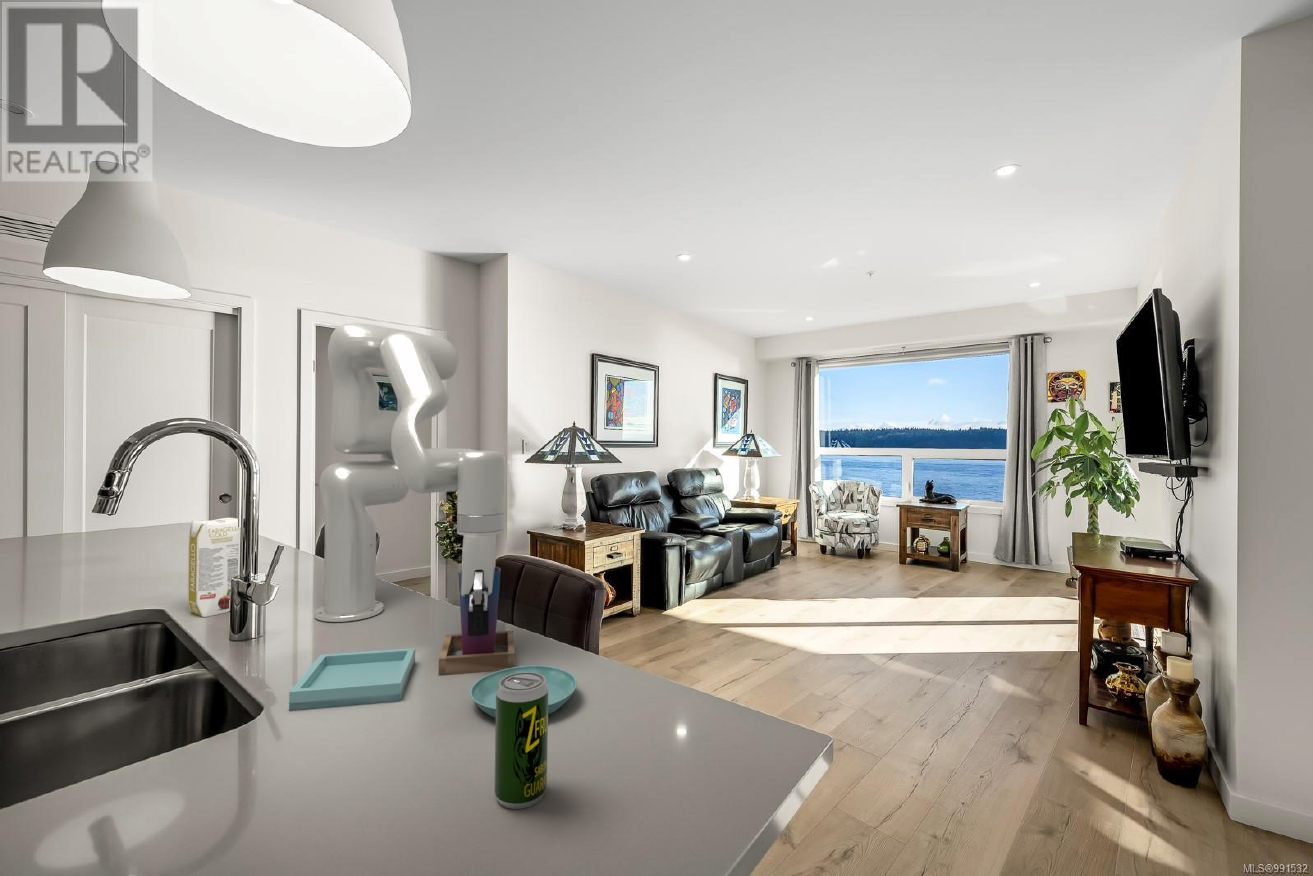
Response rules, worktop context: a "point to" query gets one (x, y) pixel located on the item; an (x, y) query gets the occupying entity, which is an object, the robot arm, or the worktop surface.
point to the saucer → (486, 687)
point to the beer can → (521, 739)
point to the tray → (353, 679)
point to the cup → (488, 641)
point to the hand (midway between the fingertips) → (479, 625)
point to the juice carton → (212, 565)
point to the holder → (476, 656)
